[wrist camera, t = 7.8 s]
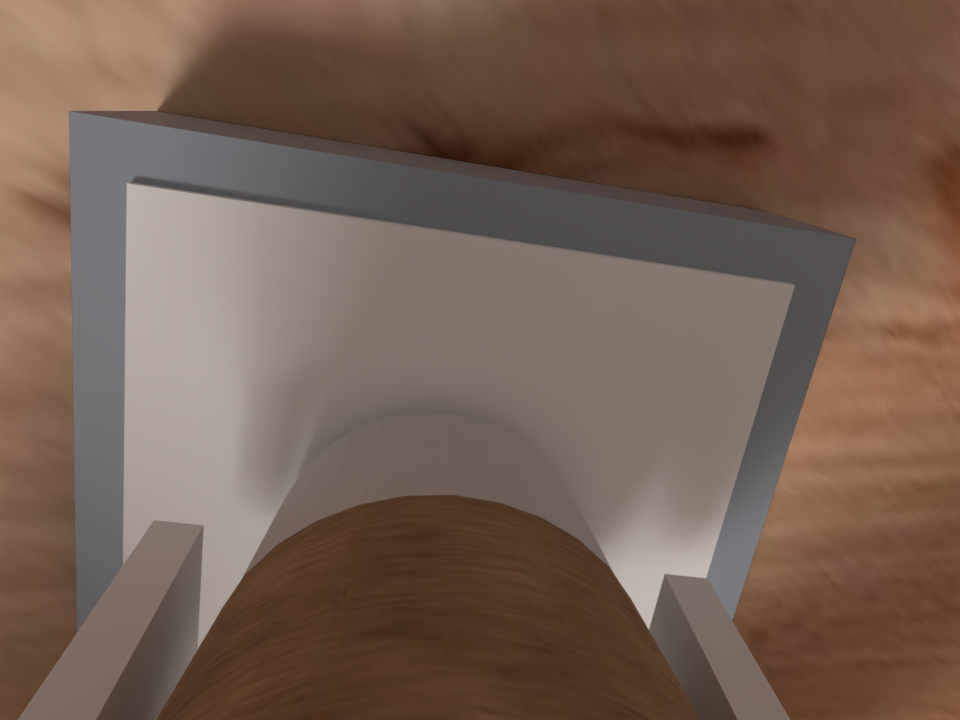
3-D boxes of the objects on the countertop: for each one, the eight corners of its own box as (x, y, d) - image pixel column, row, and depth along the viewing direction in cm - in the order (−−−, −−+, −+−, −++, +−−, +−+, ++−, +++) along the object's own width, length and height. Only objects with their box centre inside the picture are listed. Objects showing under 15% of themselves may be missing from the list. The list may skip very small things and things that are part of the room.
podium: (156, 110, 16) (64, 111, 12) (764, 210, 17) (862, 240, 13) (144, 639, 20) (73, 768, 16) (631, 681, 22) (676, 809, 18)
